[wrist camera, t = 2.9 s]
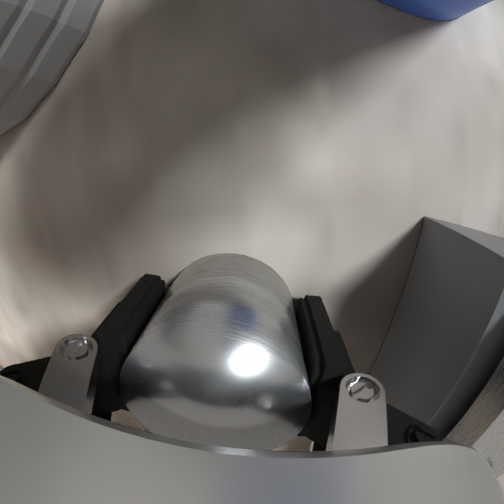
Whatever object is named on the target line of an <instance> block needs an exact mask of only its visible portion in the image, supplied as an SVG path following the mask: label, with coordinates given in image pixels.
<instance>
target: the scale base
mask: <svg viewBox="0 0 504 504" xmlns="http://www.w3.org/2000/svg"><path fill="white" fill-rule="evenodd" d="M503 357H504V239H503V238H500V237H497V236H494V235H491V234H487V233H484V232H481V231H477V230H474V229H470V228H467V227H463V226H460V225H456V224H452V223H448V222H445V221H441V220H437V219H433V218H429V217H424V221H423V225H422V230H421V234H420V237H419V241H418V245H417V249H416V252H415V256H414V259H413V263H412V266H411V269H410V272H409V276H408V279H407V282H406V285H405V288H404V291H403V294H402V297H401V299H400V302H399V305H398V308H397V310H396V313H395V316H394V318H393V321H392V323H391V326H390V328H389V331H388V333H387V336H386V338H385V340H384V343H383V345H382V347H381V350H380V352H379V354H378V356H377V358H376V361H375V363H374V365H373V367H372V369H371V371H370V373H369V375H370V376H372V377H374V378H376V379H377V380H378V381H379V382H380V383H381V384H382V385H383V387H384V390H385V396H386V403H387V404H389V405H391V406H393V407H395V408H397V409H398V410H400V411H402V412H404V413H406V414H408V415H410V416H412V417H413V418H415V419H417V420H419V421H421V422H423V423H425V424H427V425H429V426H430V427H432V428H433V429H434V430H435V431H436V432H437V433H438V435H439V437H440V440H441V441H442V440H443V439H444V438H446V436H447V435H448V434H449V433H450V432H451V431H452V430H453V428H454V427H455V426H456V425H457V424H458V422H459V421H460V420H461V419H462V417H463V416H464V415H465V413H466V412H467V411H468V410H469V408H470V407H471V406H472V404H473V403H474V402H475V400H476V399H477V397H478V396H479V395H480V393H481V392H482V390H483V389H484V387H485V386H486V384H487V383H488V381H489V380H490V378H491V377H492V375H493V373H494V372H495V370H496V368H497V367H498V365H499V363H500V362H501V360H502V358H503Z"/></svg>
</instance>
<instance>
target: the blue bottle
mask: <svg viewBox="0 0 504 504" xmlns="http://www.w3.org/2000/svg"><path fill="white" fill-rule="evenodd" d="M378 1H380V2H382V3H384V4H387V5H389V6H391V7H394V8H396V9H398V10H400V11H403V12H406V13H409V14H412V15H415V16H418V17H422V18H427V19H431V20H443V21H448V20H452V19H456V18H459V17H461V16H463V15H464V14H466V13H468V12H470V11H472V10H474V9H476V8H478V7H480V6H482V5H484V4H486V3H489V2H491V1H493V0H378Z"/></svg>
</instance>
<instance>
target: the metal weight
mask: <svg viewBox="0 0 504 504" xmlns="http://www.w3.org/2000/svg"><path fill="white" fill-rule="evenodd" d="M119 386H120V391H121V395H122V397H123V400H124V402H125V404H126V406H127V408H128V409H129V410H130V412H131V413H132V415H133V416H134V417H135V418H136V419H137V420H138V421H139V422H140V423H141V424H142V425H143V426H144V427H145V428H147V429H148V430H149V431H151V432H152V433H153V434H157V435H161V436H165V437H170V438H175V439H179V440H185V441H190V442H195V443H201V444H208V445H215V446H222V447H230V448H240V449H251V450H265V451H270V450H272V449H275V448H277V447H279V446H281V445H283V444H285V443H287V442H288V441H290V440H291V439H293V438H294V437H295V436H296V435H297V434H298V433H300V431H301V430H302V429H303V428H304V427H305V425H306V423H307V422H308V420H309V417H310V414H311V409H312V400H311V393H310V387H309V382H308V377H307V371H306V366H305V361H304V355H303V350H302V345H301V340H300V335H299V330H298V325H297V320H296V315H295V310H294V305H293V300H292V297H291V294H290V291H289V289H288V287H287V285H286V284H285V282H284V281H283V279H282V278H281V277H280V276H279V275H278V274H277V273H276V272H275V271H274V270H273V269H272V268H270V267H269V266H267V265H266V264H264V263H263V262H261V261H259V260H256V259H254V258H251V257H248V256H245V255H240V254H231V253H223V254H214V255H209V256H206V257H203V258H201V259H198V260H196V261H194V262H193V263H191V264H190V265H188V266H187V267H186V268H185V269H184V270H183V271H181V273H180V274H179V275H178V276H177V278H176V279H175V281H174V282H173V284H172V285H171V287H170V289H169V290H168V292H167V293H166V295H165V296H164V298H163V300H162V301H161V303H160V304H159V306H158V308H157V309H156V311H155V312H154V314H153V316H152V317H151V319H150V320H149V322H148V324H147V325H146V327H145V329H144V330H143V332H142V333H141V335H140V337H139V338H138V340H137V342H136V343H135V345H134V347H133V348H132V350H131V352H130V354H129V355H128V357H127V359H126V360H125V362H124V364H123V366H122V368H121V372H120V376H119Z"/></svg>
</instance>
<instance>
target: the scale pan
mask: <svg viewBox="0 0 504 504" xmlns="http://www.w3.org/2000/svg"><path fill="white" fill-rule="evenodd" d="M446 438H447V439H449V440H452V441H455V442H457V443H461V444H465V445H468V446H471V447H473V448H475V449H478V450H481V451H483V452H485V453H487V454H488V455H489V456H490V458H491V460H492V465H493V468H492V470H493V471H494V473H495V475H496V477H497V478H498V477H499V476H501V475H502V474H504V357H503V358H502V360H501V362H500V363H499V365H498V367H497V368H496V370H495V372H494V373H493V375H492V377H491V378H490V380H489V381H488V383H487V384H486V386H485V387H484V389H483V390H482V392H481V393H480V395H479V396H478V397H477V399H476V400H475V402H474V403H473V404H472V406H471V407H470V408H469V410H468V411H467V412H466V413H465V415H464V416H463V417H462V419H461V420H460V421H459V422H458V424H457V425H456V426H455V427H454V428H453V430H452V431H451V432H450V433H449V434H448V435H447V436H446Z"/></svg>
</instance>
